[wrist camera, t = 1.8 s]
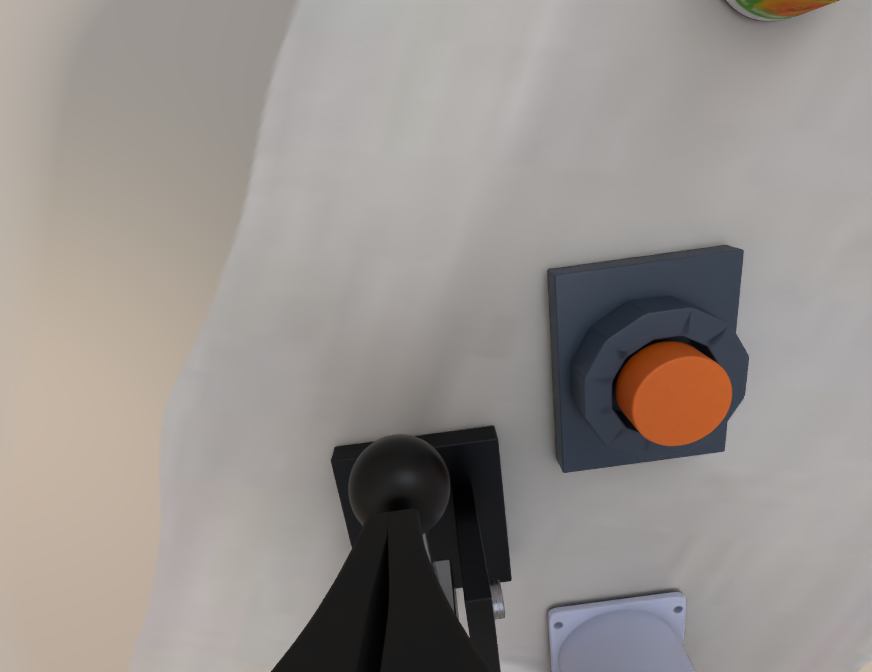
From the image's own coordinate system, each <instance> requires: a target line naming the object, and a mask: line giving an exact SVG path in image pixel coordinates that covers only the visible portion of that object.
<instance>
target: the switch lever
mask: <svg viewBox="0 0 872 672" xmlns="http://www.w3.org/2000/svg"><path fill="white" fill-rule="evenodd" d="M348 493H349V500H350V504H351V507H352V510H353V512H354V514H355V516H356V518H357V519H358V521H359V522H360V523H361V524H362V526H363V524H364V522H365V520H366V518H367V517H368V515H369V514H377V513H384V512H392V511H399V510H407V509H415V510H417V511H418V512H419V517H420V523H421V529H422V534H423V540H424V546H425V549H426V552H427V554H428V557H429V560H430V562H431V565H432V567H433V570H434V572H435V575H436V577H437V579H438V581H439V583H440V586H441V588H442V590H443V592H444V594H445V596H446V598H447V600H448V602H449V604H450V606H451V607H452V609H453V611H454V613H455V615H456V616H457V618H458V620H459V614H458V605H457V596H456V589H455V583H454V578H453V572H452V566H451V561H450V560H449V559H448V560H440V561H435V559H434V554H433V549H432V544H431V540H430V535H429V530H430V529H431V528H432V527H433V526H434V525H435V524H436V523H437V522H438V521H439V520H440V518H441V517H442V515H443V513H444V511H445V509H446V507H447V504H448V501H449V496H450V477H449V473H448V469H447V467H446V464H445V462H444V460H443V458H442V457H441V455H440V454H439V453H438V452H437V451H436V449H435V448H434V447H432V446H431V445H430V444H428V443H427V442H426V441H424V440H422V439H419V438H417V437H414V436H410V435H391V436H387V437H384V438H381V439H379V440H377V441H375V442H373V443H372V444H371V445H369V446H368V447H367V448H366V449H365V450H364V451H363V452H362V453H361V454H360V456H359V457H358V458H357V460H356V462H355V464H354V465H353V468H352V471H351V474H350V478H349V484H348Z"/></svg>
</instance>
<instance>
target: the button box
mask: <svg viewBox="0 0 872 672" xmlns="http://www.w3.org/2000/svg"><path fill="white" fill-rule="evenodd" d="M743 253H744V251H743V250H742V249H739V248H735V247H731V246H728V245H724V246H717V247H709V248H702V249H695V250H687V251H680V252H672V253H665V254H658V255H650V256H643V257H636V258H628V259H621V260H614V261H606V262H599V263H591V264H584V265H577V266H569V267H562V268H555V269H549V270H548V289H549V310H550V331H551V351H552V372H553V393H554V414H555V435H556V456H557V461H558V463H559V465H560V467H561V469H562V471H563V473H567V472H574V471H582V470H589V469H597V468H604V467H612V466H619V465H627V464H634V463H642V462H649V461H656V460H664V459H671V458H679V457H686V456H694V455H701V454H709V453H716V452H723V451H725V441H726V430H727V421H728V420H729V418H730V417H731V416H732V414H733V413H734V411H735V410H736V408H737V407H738V405H739V404H740V403H741V401H742V400H743V398H744V396H745V390H746V381H747V372H748V362H749V358H748V357H749V356H748V354H747V352H746V350H745V348H744V347H743V345H742V343H741V341H740V340H739V338H738V336H737V334H736V326H737V315H738V305H739V295H740V284H741V274H742V263H743ZM663 341H678V342H683V343H686V344H689V345H691V346H693V347H694V348H696V349H697V350H699V351H700V352H701V353H703V354H704V355H706V356H707V357H709V358H710V359H712V360H713V361H715V362H716V363H718V364H719V365H720V366H721V367H722V368H723V369H724V370H725V371H726V373H727V375H728V377H729V379H730V382H731V385H732V400H731V404H730V407H729V410H728V412H727V414H726V416H725V417H724V419H723V420H722V422H721V423H720V424H719V425H718V426H717V427H716V428H715V429H714V430H713V431H712V432H711V433H709V434H708V435H706V436H705V437H703V438H701V439H700V440H698V441H695V442H693V443H690V444H686V445H681V446H664V445H660V444H656V443H654V442H651V441H649V440H648V439H646V438H645V437H643V436H642V435H641V434H640V433H639V431H638V430H637V429H636V428H635V427H634V425H633V424H632V423H631V422H630V420H629V419H628V418H627V417H626V416H625V414H624V413H623V412H622V411H621V409H620V407H619V405H618V403H617V399H616V383H617V379H618V376H619V374H620V372H621V370H622V368H623V366H624V365H625V363H626V362H627V361H628V360H629V359H630V358H631V357H632V356H633V355H634V354H635V353H637V352H638V351H640V350H641V349H643V348H645V347H647V346H649V345H651V344H655V343H658V342H663Z"/></svg>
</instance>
